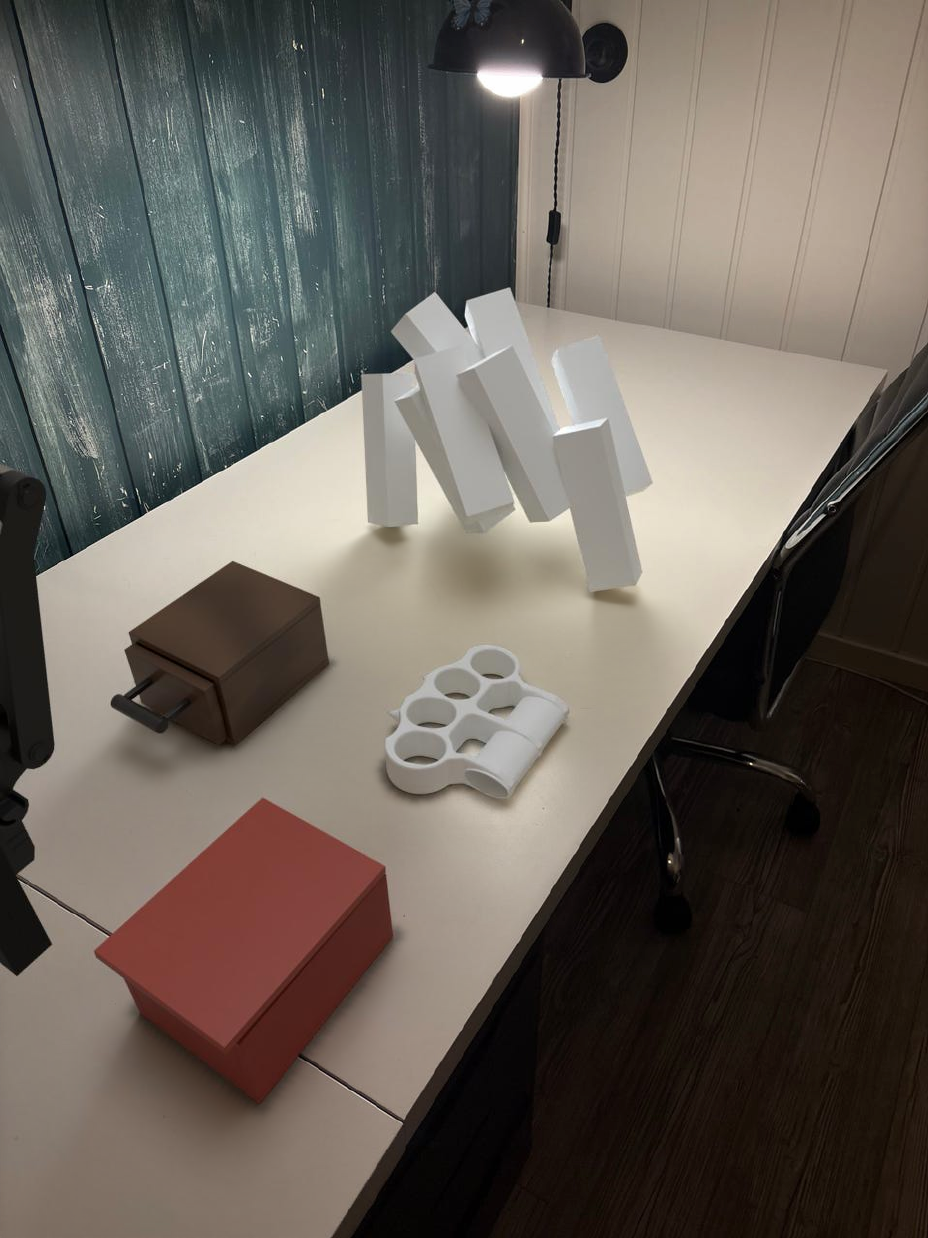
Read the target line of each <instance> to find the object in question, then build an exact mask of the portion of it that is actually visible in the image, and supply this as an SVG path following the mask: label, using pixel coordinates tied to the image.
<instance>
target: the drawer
mask: <svg viewBox="0 0 928 1238" xmlns="http://www.w3.org/2000/svg"><path fill="white" fill-rule="evenodd" d="M123 651H124V654H125V656H126V660H127V663H128V666H129V669H130V672H131V675H132V679H133V681H134V685H135V686H134V687H132V688H131V689H130V690H128V691H127V692H126V693H124V694H121V693H117V694H114V696H112V698H111V700H110V703H109V704H110V707H111V708H112V709H114V710H115V711H117V712H119V713H121V714H122V715H124V716H126V717H128V718H130V719H131V720H133V721H135V722H137V723H139V724H140V725H142V726H144V727H145V728H148V729H149V730H151V731H152V732H154V733H157V734H163V733H165V732H166V731H167V730H168V728H169V726H170V722H171V721H174V722H175V723H177V724H179V725H181V726H183V727H185V728H187V729H189V730H190V731H192V732H194V733H196V734H198V735H200V736H201V737H203V738H205V739H207V740H208V741H210V742H212V743H214V744H216V745H217V746H220V745H221V744H222V743H223V742H225V741H226V740H225V739H226V738H227V737H228V736H227V732H226V728H225V724H224V720H223V715H222V711H221V707H220V703H219V699H218V695H217V691H216V687H215V683H214V681H213V680H211V679H209V678H207V677H205V676H203V675H201V674H199V673H197V672H195V671H193V670H191V669H189V668H188V667H186V666H184V665H182V664H180V663H178V662H176V661H174V660H172V659H170V658H168V657H166V656H164V655H162V654H160V653H158V652H156V651H154V652H155V653H153V652H151V651H149V650H147V649H145V648H143V647H141V646H139V645H137V644H135V643H133V644H132V643H131V644H130V645H128V646H127V647H126V648H125V649H123ZM138 696H139V700H140V702H141V704H143V705H144V706H143V705H141V704H139V703H138V702H136V701H134V699H136V698H137V697H138ZM147 707H148V708H147ZM149 708H150V709H152V710H150V709H149ZM154 711H156V712H154ZM158 713H159V714H158ZM160 714H161V715H160Z"/></svg>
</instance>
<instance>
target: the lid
mask: <svg viewBox="0 0 928 1238" xmlns="http://www.w3.org/2000/svg"><path fill="white" fill-rule="evenodd" d="M385 873H387V869H386V866H385V865H384V864H382V863H380V862H379V861H377V860H376V859H374V858H372V857H370V856H368V855H367V854H364V852H363V853H362V852H361V851H359V850H357V849H356V848H354V847H352V846H350V845H349V844H347V843H345V842H343V841H341V840H339V839H338V838H336V837H335V836H334V835H333V836H332V835H331V834H330V833H327V832H325V831H324V830H322V829H320V828H319V827H316V826H315V825H313V824H311V823H310V822H308V821H306V820H304V819H303V818H300V817H299V816H297V815H296V814H294V813H292V812H290V811H288V810H286V809H285V808H283V807H281V806H279V805H277V804H275V803H274V802H272V801H271V800H268V799H267V798H265V797H261V798H260V799H259V800H258V801H256V802H255V804H254V805H252V806H251V807H250V808H249V809H247V811H246V812H245V813H244V814H242V816H240V817H238V819H237V820H236V821H235V822H234V823H232V824H231V826H229V827H228V828H226V830H224V831H223V833H221V834H220V835H219V836H218V837H217V838H216V839H215V840H214V841H213V842H212V843H210V845H208V846H207V847H206V848H205V849H204V850H203V851H202V852H200V854H198V855H197V856H196V857H195V858H194V859H193V860H192V861H191V862H190V863H188V864H187V866H185V867H184V868H183V869H182V870H181V871H180V872H178V873H177V875H175V876H174V877H173V878H172V879H171V880H170V881H169V882H168V883H167V884H165V885H164V886H163V887H162V888H161V889H160V890H159V891H157V893H156V894H154V895H153V896H152V897H151V898H150V899H149V900H147V902H146V903H145V904H143V906H141V907H140V908H139V909H138V910H137V911H136V912H135V913H134V914H133V915H132V916H130V917H129V918H128V919H127V920H126V921H125V922H124V923H123V924H121V926H119V927H118V928H117V929H116V930H115V931H114V932H112V934H110V935H109V936H108V937H107V938H106V939H105V940H104V941H102V943H100V944H99V945H98V946H97V947H96V948H95V949H94V950H93V953H94V956H95V958H96V959H97V960H98V961H100V962H101V963H102V964H103V965H105V966H106V967H108V968H109V969H110V970H112V971H113V972H114V973H116V974H117V975H118V976H119V977H121V978H123V980H124V979H125V980H127V981H128V982H129V983H131V984H132V985H133V986H135V987H136V988H137V989H139V990H140V991H141V992H143V993H144V994H145V995H147V996H148V997H149V998H151V999H152V1000H153V1001H155V1002H156V1003H158V1004H159V1005H160V1006H162V1007H163V1008H164V1009H166V1010H167V1011H168V1012H170V1013H171V1014H172V1015H174V1016H175V1017H176V1018H178V1019H179V1020H180V1021H182V1022H183V1023H184V1024H186V1025H187V1026H188V1027H190V1028H191V1029H192V1030H194V1031H195V1032H196V1033H198V1034H199V1035H200V1036H202V1037H203V1038H205V1039H206V1040H207V1041H209V1042H210V1043H211V1044H213V1045H214V1046H215V1047H217V1048H218V1049H219V1050H221V1051H222V1052H223V1053H225V1054H227V1053H228V1052H229V1051H230V1050H231V1049H232V1047H233V1046H234V1045H235V1044H236V1043H237V1042H238V1041H239V1039H240V1038H241V1037H242V1036H243V1035H244V1034H245V1033H246V1032H247V1030H248V1029H249V1028H250V1027H251V1026H252V1025H253V1024H254V1022H255V1021H256V1020H257V1019H258V1018H259V1017H260V1016H261V1014H262V1013H263V1012H264V1011H265V1010H266V1009H267V1008H268V1007H269V1005H270V1004H271V1003H272V1002H273V1001H274V1000H275V999H276V997H277V996H278V995H279V994H280V993H281V992H282V991H283V989H284V988H285V987H286V986H287V985H288V984H289V983H290V981H291V980H292V979H293V978H294V977H295V976H296V975H297V974H298V972H299V971H300V970H301V969H302V968H303V967H304V966H305V964H306V963H307V962H308V961H309V960H310V959H311V958H312V956H313V955H314V954H315V953H316V952H317V951H318V950H319V949H320V947H321V946H322V945H323V944H324V943H325V942H326V941H327V939H328V938H329V937H330V936H331V935H332V934H333V933H334V931H335V930H336V929H337V928H338V927H339V926H340V925H341V923H342V922H343V921H344V920H345V919H346V918H347V917H348V916H349V914H350V913H351V912H352V911H353V910H354V909H355V908H356V906H357V905H358V904H359V903H360V902H361V901H362V900H363V898H364V897H365V896H366V895H367V894H368V893H369V892H370V891H371V889H372V888H373V887H374V886H375V885H376V884H377V883H378V881H379V880H380V879H381V878H382V877H383V876H384V875H385ZM125 980H124V981H125Z"/></svg>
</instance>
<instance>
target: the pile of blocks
mask: <svg viewBox="0 0 928 1238" xmlns="http://www.w3.org/2000/svg"><path fill="white" fill-rule="evenodd" d="M464 318H465V321H466V324H467V327H468V330H469V332H470V333H469V332H468V330H466V328H465V327H464V326H463V324H462V323H460V321H459V320H458V319H457V317H456V315H454V313H453V312H452V311H451V310H450V309H449V307H448V306H447V305H446V303H445V302H444V301H443V300H442V299H441V298H440V295H438V293H436V291H434V292H433V293H431V294H430V295H428V297H426V298H424V299H423V300H422V301H421V302H419V303H418V304H417V305H415V306H414V307H413V308H411V309H410V310H409V311H407V312H405V314H404V315H403V316H402V317H401V318H400V319H399V321H397V323H396V325H394V326H393V328H392V329H391V330H390V333H391V334H392V335H393V336H394V338H395V339H396V340H397V341H398V342H399V344H400V345H401V346H402V348H403V349H404V350H405V351H406V352H407V354H408V355H409V356H410V357H411V358H412V360H413V361H414V365H413V366H414V373H413V372H406V373H405V372H403V373H399V372H397V373H396V372H395V373H393V372H392V373H361V375H360V378H361V380H360V381H361V398H362V399H361V400H362V401H361V402H362V403H361V404H362V419H363V421H362V422H363V423H362V424H363V445H364V467H365V469H364V470H365V485H366V486H365V487H366V489H365V490H366V510H367V511H366V512H367V523H369V524H372V525H377V526H380V527H385V528H394V527H396V528H397V527H404V526H412V525H418V524H419V514H418V513H419V511H418V485H417V484H418V483H417V482H418V480H417V479H418V477H417V476H418V475H417V450H416V448H417V447H416V445H417V446H418V448H419V450H420V452H421V453H422V455H423V457H424V459H425V461H426V462H427V464H428V466H429V468H430V470H431V472H432V473H433V475H434V477H435V479H436V481H437V483H438V485H439V486H440V488H441V490H442V492H443V493H444V495H445V498H446V499H447V501H448V503H449V504H450V506H451V508H452V511H453V512H454V514H455V516H456V517H457V519H458V521H459V523H460V525H461V527H462V528H463V530H464V533H465V534H486V533H487V532H488V531H490V530H491V529H492V528H494V527H495V526H497V525H498V524H499V523H500V522H502V521H503V520H504V519H505V518H507V517H508V516H509V515H510V514H512V513H513V512H514V511H516V507H515V499H514V497H513V493H512V490H513V492H514V494H515V496H516V498H517V500H518V502H519V504H520V506H521V509H522V510H523V512H524V514H525V516H526V518H527V520H528V522H529V523H531V524H532V523H549V522H552V520H554V519H556V518H557V517H558V516H560V515H561V514H563V513H564V512H566V511H567V510H570V516H571V519H572V523H573V527H574V531H575V535H576V540H577V543H578V549H579V552H580V555H581V560H582V564H583V568H584V573H585V576H586V580H587V585H588V589H589V592H590V593H592V592H599V591H600V592H601V591H606V590H613V589H614V590H615V589H620V588H627V587H628V588H629V587H635V586H637V584H638V582H639V580H640V578H641V576H642V574H643V569H642V564H641V560H640V555H639V550H638V547H637V546H638V545H637V541H636V537H635V532H634V528H633V522H632V519H631V514H630V510H629V505H628V502H627V497H630V496H634V495H636V494H639V493H643V492H645V490H647V489H648V488H649V487H650V486H651V485H652V484H653V483H654V482H653V480H652V476H651V474H650V471H649V469H648V465H647V463H646V462H647V461H646V460H645V457H644V455H643V451H642V449H641V445H640V443H639V440H638V438H637V434H636V432H635V429H634V427H633V424H632V421H631V418H630V415H629V411H628V409H627V407H626V404H625V401H624V399H623V396H622V393H621V390H620V387H619V383H618V381H617V378H616V376H615V373H614V370H613V367H612V364H611V362H610V359H609V356H608V353H607V351H606V348H605V346H604V342H603V340H602V337H601V334H597V335H595V336H591V337H588V338H585V339H581V340H578V341H575V342H573V343H572V342H571V343H568V344H566V345H565V344H564V345H563V346H560V347H559V346H558V347H556V348H555V351H554V353H553V356H552V358H551V361H550V363H551V366H552V369H553V371H554V374H555V378H556V380H557V383H558V385H559V388H560V392H561V394H562V397H563V400H564V402H565V403H564V404H565V405H566V408H567V409H566V410H567V411H568V414H569V417H570V419H571V422H572V425H569V426H564V427H563V426H562V427H561V428H560V425H559V423H558V420H557V417H556V414H555V411H554V409H553V405H552V403H551V399H550V396H549V395H548V391H547V388H546V386H545V382H544V380H543V377H542V374H541V372H540V368H539V366H538V362H537V360H536V358H535V357H536V356H535V354H534V351H533V349H532V346H531V344H530V343H531V342H530V339H529V338H528V334H527V331H526V329H525V326H524V324H523V321H522V317H521V315H520V312H519V309H518V306H517V303H516V300H515V297H514V295H513V292H512V289H511V287H506V288H503V289H500V290H496V291H493V292H490V293H487V294H484V295H479V296H477V297H474V298H470V299H467V300H466V302H465V310H464ZM414 375H415V377H416V381H417V383H416V386H414V385H415V384H414V383H415V382H414ZM509 484H510V485H509ZM510 486H511V487H510ZM511 488H512V490H511Z"/></svg>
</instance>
